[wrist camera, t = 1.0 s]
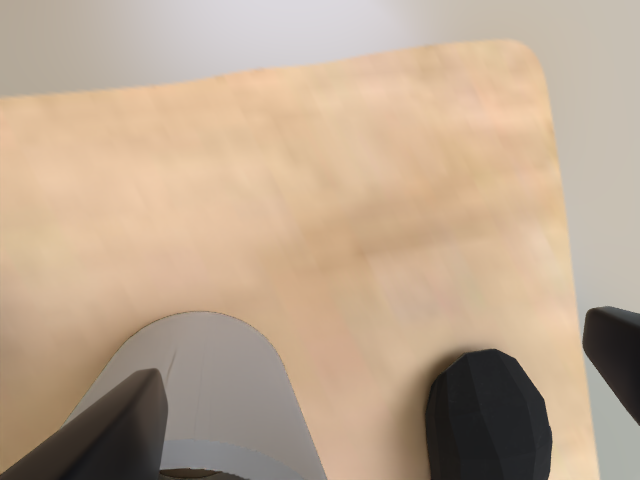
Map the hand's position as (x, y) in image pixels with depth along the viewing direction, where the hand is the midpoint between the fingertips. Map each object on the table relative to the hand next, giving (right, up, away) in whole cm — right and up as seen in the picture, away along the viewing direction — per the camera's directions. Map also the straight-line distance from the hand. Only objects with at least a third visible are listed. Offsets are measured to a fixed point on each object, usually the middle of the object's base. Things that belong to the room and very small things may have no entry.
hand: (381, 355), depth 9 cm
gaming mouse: (+8, -11, +16) cm, 21 cm away
